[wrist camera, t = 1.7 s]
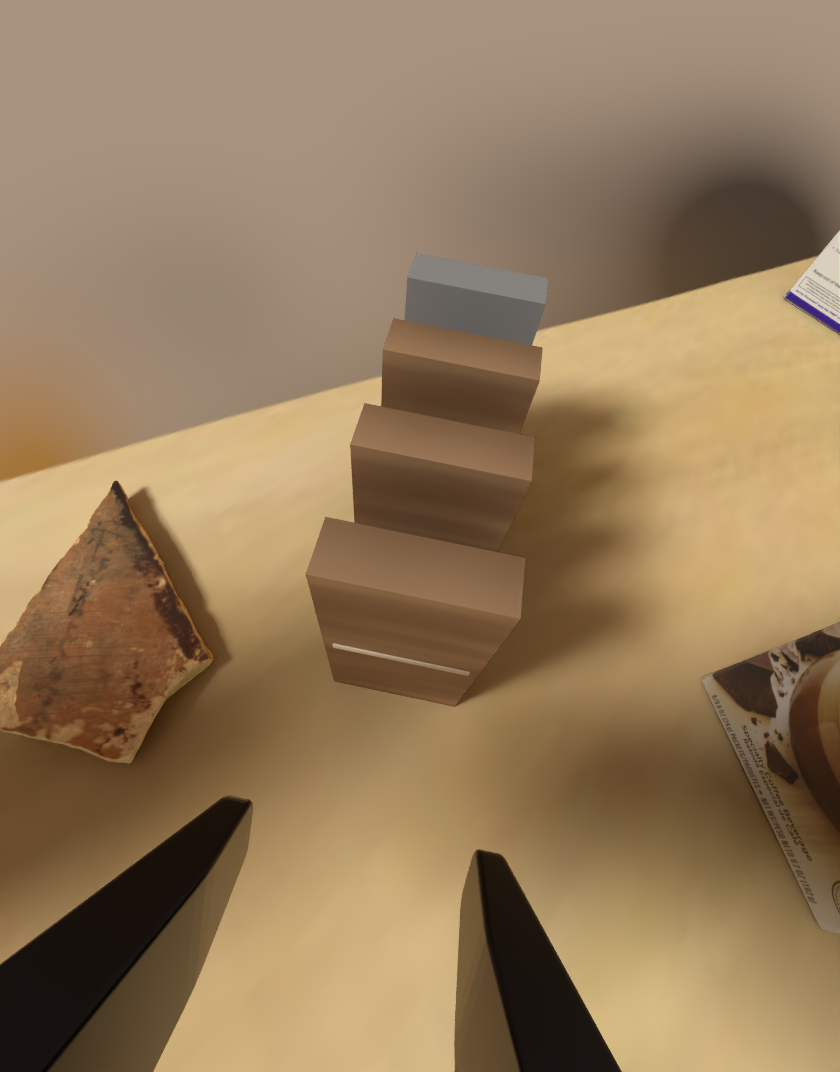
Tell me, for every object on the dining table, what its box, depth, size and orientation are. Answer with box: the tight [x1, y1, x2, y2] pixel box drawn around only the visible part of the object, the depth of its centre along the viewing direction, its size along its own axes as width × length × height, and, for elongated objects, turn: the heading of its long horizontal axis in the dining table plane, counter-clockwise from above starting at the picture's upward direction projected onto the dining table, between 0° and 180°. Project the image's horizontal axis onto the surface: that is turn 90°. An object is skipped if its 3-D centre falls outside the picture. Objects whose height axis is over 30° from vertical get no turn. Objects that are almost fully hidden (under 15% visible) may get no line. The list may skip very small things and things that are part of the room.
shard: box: [0, 481, 214, 763], centre depth 20 cm, size 11×8×2 cm
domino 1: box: [405, 253, 548, 346], centre depth 22 cm, size 2×5×10 cm, turn 80°
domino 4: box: [306, 517, 526, 707], centre depth 16 cm, size 2×5×10 cm, turn 80°
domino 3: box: [350, 403, 535, 552], centre depth 18 cm, size 2×5×10 cm, turn 80°
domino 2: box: [381, 319, 542, 434], centre depth 20 cm, size 2×5×10 cm, turn 80°
